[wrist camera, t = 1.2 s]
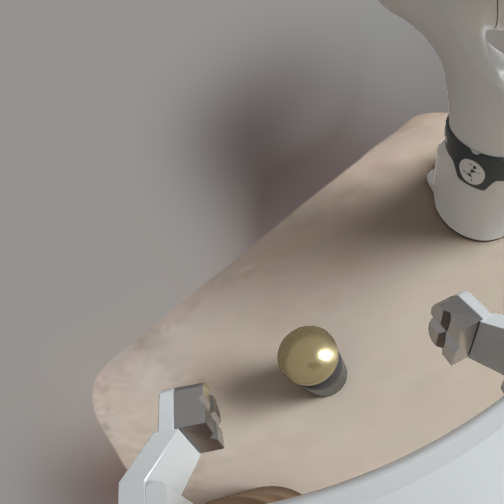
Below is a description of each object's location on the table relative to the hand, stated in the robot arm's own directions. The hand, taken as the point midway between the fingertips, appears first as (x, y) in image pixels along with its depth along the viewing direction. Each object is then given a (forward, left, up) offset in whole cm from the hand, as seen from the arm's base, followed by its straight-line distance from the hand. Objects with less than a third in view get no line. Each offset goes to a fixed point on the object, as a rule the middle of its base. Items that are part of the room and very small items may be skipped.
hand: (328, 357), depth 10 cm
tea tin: (0, -7, -28) cm, 29 cm away
